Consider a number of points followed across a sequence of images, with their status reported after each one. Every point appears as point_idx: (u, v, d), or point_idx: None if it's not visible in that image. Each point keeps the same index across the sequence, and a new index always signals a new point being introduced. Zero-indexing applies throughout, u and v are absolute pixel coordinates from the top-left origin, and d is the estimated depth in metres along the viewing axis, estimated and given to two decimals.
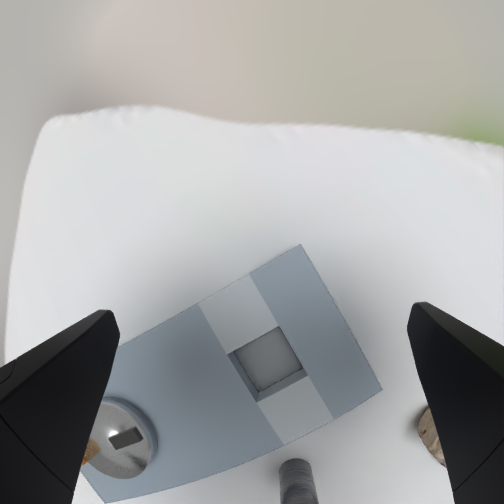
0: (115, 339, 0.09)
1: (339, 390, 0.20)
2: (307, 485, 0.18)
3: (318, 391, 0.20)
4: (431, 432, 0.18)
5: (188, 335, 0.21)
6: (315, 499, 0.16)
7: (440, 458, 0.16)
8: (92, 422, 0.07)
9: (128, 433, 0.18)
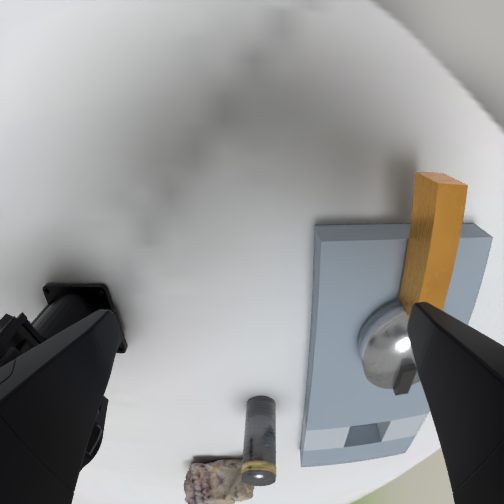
0: (115, 339, 0.09)
1: (319, 455, 0.27)
2: None
3: (329, 449, 0.26)
4: None
5: (419, 405, 0.23)
6: None
7: (239, 496, 0.26)
8: (92, 422, 0.07)
9: (407, 389, 0.18)
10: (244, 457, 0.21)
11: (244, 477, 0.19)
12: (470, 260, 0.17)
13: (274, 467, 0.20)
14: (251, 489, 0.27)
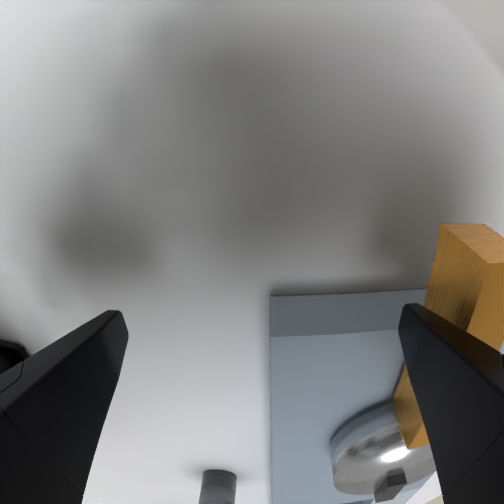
0: (124, 340, 0.09)
1: None
2: None
3: None
4: None
5: (409, 484, 0.17)
6: None
7: None
8: (101, 424, 0.07)
9: (392, 497, 0.11)
10: None
11: None
12: None
13: None
14: None
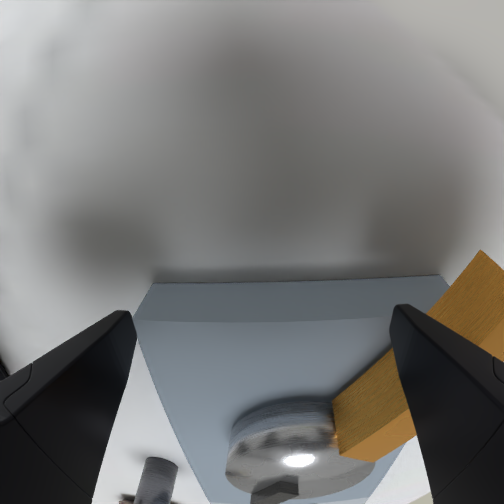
0: (132, 340, 0.09)
1: None
2: None
3: None
4: None
5: (353, 492, 0.17)
6: None
7: None
8: (111, 426, 0.07)
9: None
10: None
11: None
12: None
13: None
14: None
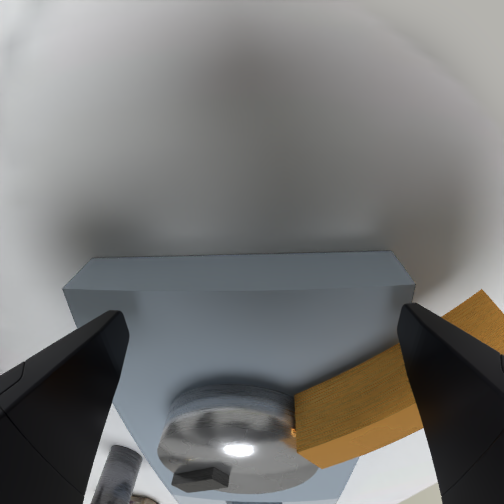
0: (125, 340, 0.09)
1: None
2: None
3: None
4: None
5: (319, 493, 0.16)
6: None
7: None
8: (102, 425, 0.07)
9: (192, 490, 0.11)
10: None
11: None
12: (362, 329, 0.10)
13: None
14: None
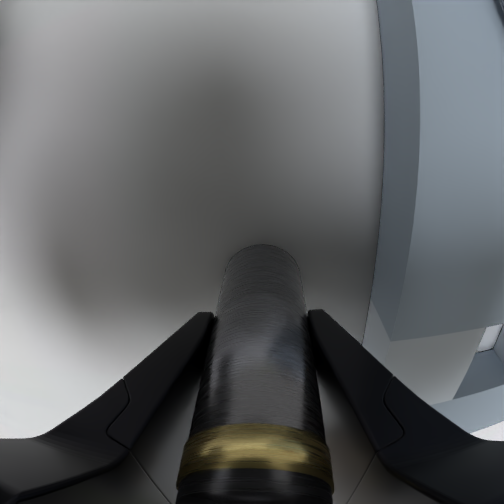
0: None
1: None
2: None
3: None
4: None
5: None
6: None
7: None
8: None
9: None
10: (196, 414, 0.05)
11: (187, 502, 0.04)
12: None
13: (327, 456, 0.04)
14: None
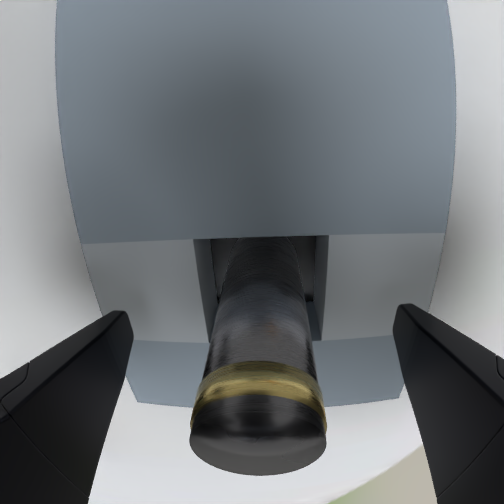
0: (129, 340, 0.09)
1: (159, 366, 0.12)
2: None
3: (171, 343, 0.11)
4: None
5: (408, 179, 0.08)
6: None
7: None
8: (107, 425, 0.07)
9: None
10: (208, 362, 0.07)
11: (201, 432, 0.05)
12: None
13: (320, 394, 0.06)
14: None
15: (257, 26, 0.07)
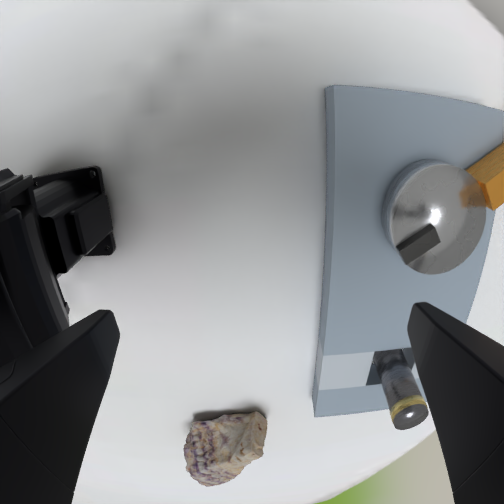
0: (115, 339, 0.09)
1: (337, 398, 0.24)
2: None
3: (348, 388, 0.24)
4: (261, 437, 0.25)
5: None
6: None
7: (246, 453, 0.23)
8: (92, 422, 0.07)
9: (412, 258, 0.16)
10: (393, 397, 0.19)
11: (401, 416, 0.18)
12: (487, 131, 0.15)
13: None
14: (260, 445, 0.24)
15: (417, 281, 0.19)
